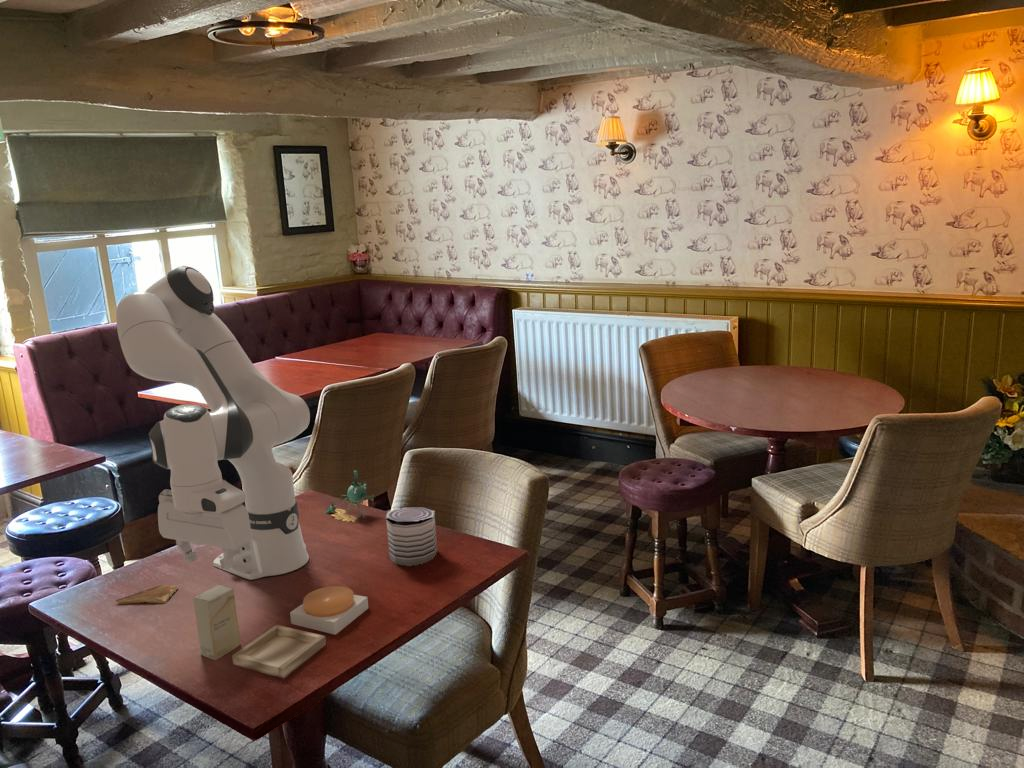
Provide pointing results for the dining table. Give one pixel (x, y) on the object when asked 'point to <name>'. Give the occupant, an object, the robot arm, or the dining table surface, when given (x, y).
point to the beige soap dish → (279, 651)
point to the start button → (328, 601)
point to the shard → (150, 595)
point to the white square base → (329, 617)
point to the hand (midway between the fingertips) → (208, 564)
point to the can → (411, 535)
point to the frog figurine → (355, 495)
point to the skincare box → (217, 621)
